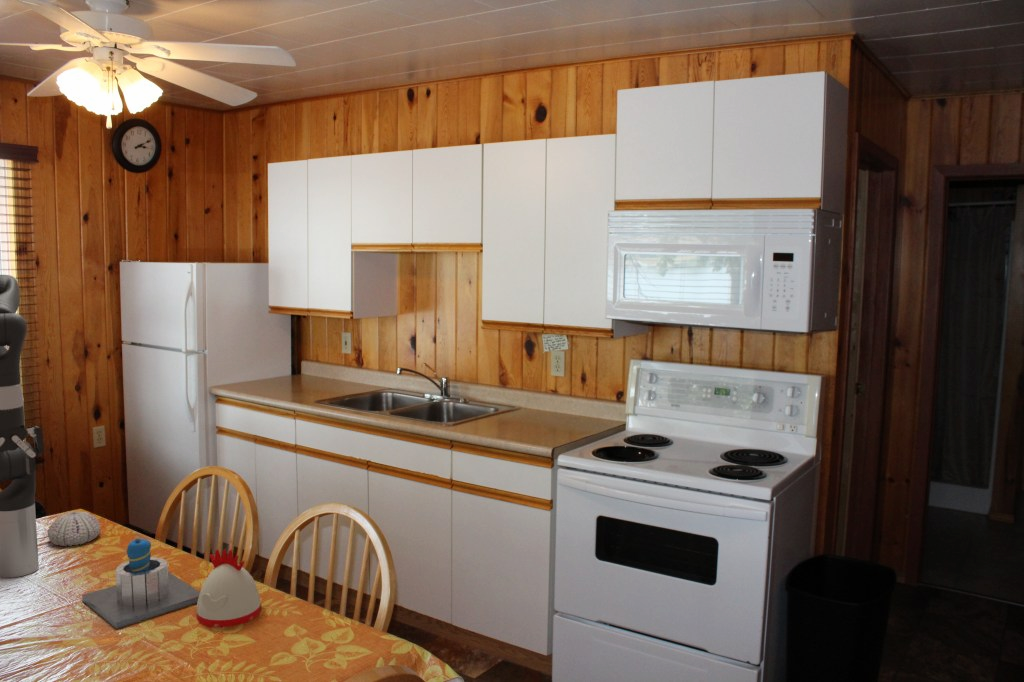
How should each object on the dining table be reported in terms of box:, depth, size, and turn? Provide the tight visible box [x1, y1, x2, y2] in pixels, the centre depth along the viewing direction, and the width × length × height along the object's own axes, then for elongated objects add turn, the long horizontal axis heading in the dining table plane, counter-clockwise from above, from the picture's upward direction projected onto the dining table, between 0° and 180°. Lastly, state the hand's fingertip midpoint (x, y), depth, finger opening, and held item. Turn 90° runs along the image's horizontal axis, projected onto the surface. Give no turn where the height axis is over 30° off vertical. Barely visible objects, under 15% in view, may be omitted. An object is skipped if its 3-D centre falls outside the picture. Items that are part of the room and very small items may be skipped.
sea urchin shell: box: [47, 510, 102, 547], centre depth 230 cm, size 13×14×8 cm
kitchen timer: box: [196, 548, 262, 628], centre depth 186 cm, size 14×14×15 cm
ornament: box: [126, 534, 152, 573], centre depth 191 cm, size 5×5×15 cm
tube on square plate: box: [81, 556, 200, 630], centre depth 192 cm, size 20×20×8 cm
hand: (8, 477), depth 180 cm, fingers open, 8 cm apart
